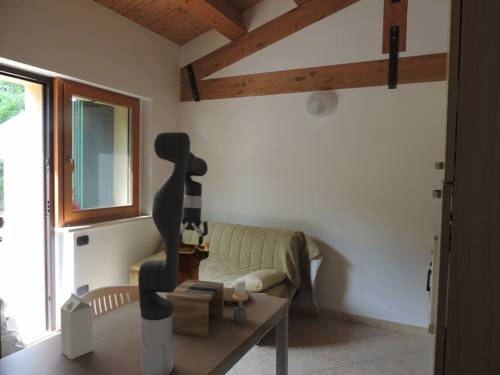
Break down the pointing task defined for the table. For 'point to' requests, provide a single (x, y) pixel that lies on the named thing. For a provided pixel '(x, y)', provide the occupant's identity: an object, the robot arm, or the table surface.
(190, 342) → the table surface
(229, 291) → the wood slice
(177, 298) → the wooden slotted block
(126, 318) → the table surface
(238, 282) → the cylinder with orange collar
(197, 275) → the decorative vase
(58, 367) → the table surface
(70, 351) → the milk carton
